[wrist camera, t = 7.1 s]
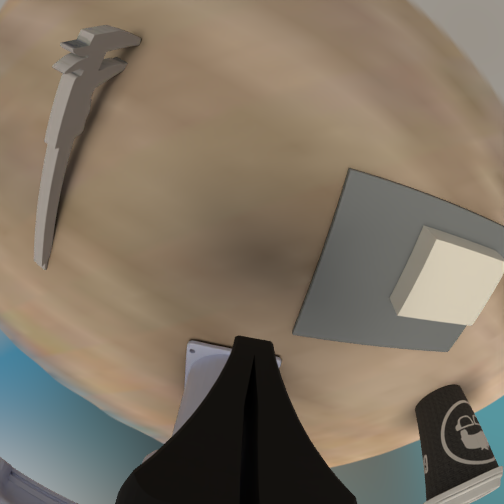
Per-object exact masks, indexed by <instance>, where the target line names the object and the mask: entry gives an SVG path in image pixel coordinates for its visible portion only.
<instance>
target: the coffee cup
mask: <svg viewBox="0 0 504 504" xmlns="http://www.w3.org/2000/svg"><path fill="white" fill-rule="evenodd" d="M415 411H416V417H417V422H418V428H419V435H420V441H421V448H422V455H423V464H424V473H425V484H426V498H427V499H426V502H425V503H424V504H469V503H472V502H473V501H476V500H478V499H479V498H481V497H483V496H485V495H487V494H488V493H490V492H492V491H493V490H495V489H496V488H498V487H499V486H500V478H501V477H502V475H503V474H502V473H503V466H500V467H499V466H498V464H497V461H496V459H495V457H494V455H493V453H492V450H491V448H490V446H489V443H488V442H487V439H486V437H485V435H484V433H483V430H482V428H481V426H480V424H479V422H478V420H477V418H476V416H475V414H474V412H473V410H472V408H471V406H470V404H469V402H468V400H467V398H466V396H465V395H464V393H463V391H462V389H461V387H460V386H458V385H449V386H445V387H442V388H440V389H438V390H436V391H434V392H432V393H430V394H429V395H427V396H426V397H425V398H423V399H422V400H421V401H420V402H419V403H418V405H417V406H416V409H415Z"/></svg>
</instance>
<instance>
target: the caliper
mask: <svg viewBox="0 0 504 504" xmlns="http://www.w3.org/2000/svg"><path fill="white" fill-rule="evenodd" d="M140 42H141V38H140V37H138V36H136V35H134V34H131V33H129V32H127V31H125V30H122V29H119V28H115V27H112V26H109V25H103V26H97V27H91V28H85V29H81V31H80V33H79V35H78V38H77V40H72V41H67V42H62V43H60V46H61V47H62V48H64V49H66V50H68V51H70V52H72V53H69V54H67V55H65V56H64V57H62V58H61V59H60V60H58V61H57V62H56V63H55V64H54V65H53V66H52V68H54V69H56V70H58V71H60V72H61V73H63V74H62V77H61V79H60V83H59V86H58V89H57V92H56V96H55V99H54V103H53V106H52V110H51V114H50V118H49V122H48V127H47V131H46V136H45V140H44V142H46V143H47V144H48V145H47V150H46V155H45V160H44V165H43V171H42V177H41V183H40V190H39V198H38V206H37V215H36V226H35V242H34V261H35V262H36V263H37V264H38V265H39V266H40V267H41V268H43V269H44V270H46V269H47V261H48V259H49V257H50V253H51V249H52V242H53V235H54V227H55V221H56V215H57V209H58V203H59V198H60V193H61V188H62V184H63V179H64V175H65V171H66V167H67V163H68V159H69V155H70V151H71V148H72V144H73V141H74V138H75V137H77V136H78V135H80V134H81V133H82V132H83V130H84V125H85V121H86V118H87V116H88V114H89V112H90V106H91V100H92V99H91V96H92V94H93V91H94V89H95V88H96V87H98V86H99V85H101V84H102V83H104V82H105V81H107V80H109V79H110V78H112V77H113V76H115V75H117V74H118V73H120V72H121V71H123V70H124V69H125V67H126V65H127V64H128V63H127V62H125V61H123V60H121V59H119V58H117V57H115V58H107V59H104V56H105V54H106V52H107V51H112V50H116V49H120V48H125V47H130V46H137V45H139V44H140Z"/></svg>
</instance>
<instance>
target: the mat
mask: <svg viewBox="0 0 504 504" xmlns="http://www.w3.org/2000/svg"><path fill="white" fill-rule="evenodd" d="M423 225H425V226H428V227H431V228H434V229H437V230H440V231H443V232H446V233H449V234H452V235H455V236H457V237H460V238H463V239H466V240H469V241H472V242H474V243H477V244H480V245H482V246H485V247H488V248H490V249H493V250H496V251H497V252H498V253H499V254H500V255H501V256H502V257H503V258H504V226H502V225H500V224H498V223H496V222H494V221H492V220H489V219H487V218H485V217H483V216H481V215H478V214H476V213H474V212H471V211H469V210H467V209H464V208H462V207H460V206H457V205H455V204H452V203H450V202H447V201H445V200H442V199H440V198H437V197H434V196H432V195H429V194H427V193H424V192H421V191H418V190H416V189H413V188H410V187H407V186H404V185H401V184H399V183H396V182H393V181H390V180H387V179H384V178H380V177H377V176H374V175H371V174H368V173H364V172H361V171H358V170H354V169H351V168H349V170H348V173H347V176H346V180H345V183H344V186H343V190H342V193H341V196H340V199H339V202H338V206H337V209H336V212H335V215H334V218H333V221H332V224H331V227H330V230H329V233H328V236H327V239H326V242H325V245H324V248H323V251H322V254H321V256H320V259H319V262H318V265H317V268H316V270H315V273H314V276H313V279H312V281H311V284H310V287H309V290H308V292H307V295H306V298H305V300H304V303H303V306H302V308H301V311H300V313H299V316H298V318H297V321H296V324H295V326H294V329H293V335H298V336H304V337H311V338H317V339H324V340H331V341H338V342H346V343H354V344H362V345H371V346H380V347H390V348H400V349H412V350H424V351H439V352H448V351H449V350H450V348H451V347H452V346H453V344H454V343H455V341H456V340H457V339H458V337H459V336H460V334H461V333H462V332H463V330H464V329H465V327H466V326H467V325H461V324H453V323H446V322H438V321H431V320H424V319H417V318H410V317H403V316H397V314H396V311H395V309H394V307H393V305H392V302H391V300H390V296H391V294H392V292H393V290H394V288H395V286H396V284H397V282H398V280H399V278H400V276H401V274H402V272H403V270H404V268H405V266H406V264H407V262H408V260H409V257H410V255H411V253H412V251H413V249H414V246H415V244H416V242H417V240H418V237H419V235H420V233H421V230H422V228H423Z"/></svg>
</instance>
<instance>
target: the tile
mask: <svg viewBox="0 0 504 504" xmlns="http://www.w3.org/2000/svg"><path fill="white" fill-rule="evenodd" d="M503 273H504V258H503V257H502V256H501V255H500V254H499V253H498V252H497V251H496V250H493V249H490V248H488V247H485V246H482V245H480V244H477V243H474V242H472V241H469V240H466V239H463V238H460V237H457V236H455V235H452V234H449V233H446V232H443V231H440V230H437V229H434V228H431V227H428V226H425V225H423V228H422V230H421V233H420V235H419V237H418V240H417V242H416V244H415V246H414V249H413V251H412V253H411V255H410V257H409V260H408V262H407V264H406V266H405V268H404V270H403V272H402V274H401V276H400V278H399V280H398V282H397V284H396V286H395V288H394V290H393V292H392V294H391V296H390V300H391V302H392V305H393V307H394V309H395V311H396V314H397V316H403V317H410V318H417V319H424V320H431V321H438V322H446V323H453V324H461V325H469V326H472V325H473V323H474V322H475V320H476V319H477V317H478V316H479V314H480V313H481V311H482V309H483V308H484V306H485V305H486V303H487V301H488V300H489V298H490V296H491V295H492V293H493V291H494V290H495V288H496V286H497V284H498V283H499V281H500V279H501V277H502V275H503Z"/></svg>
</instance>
